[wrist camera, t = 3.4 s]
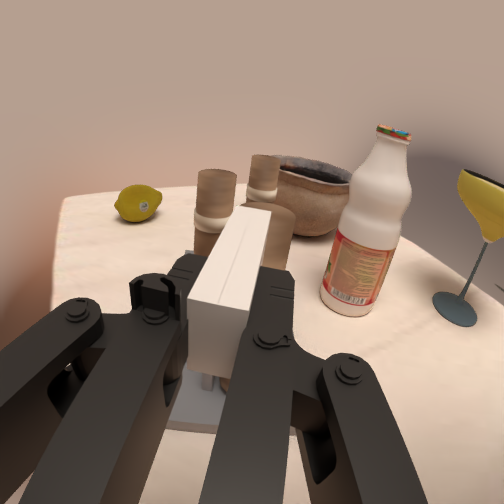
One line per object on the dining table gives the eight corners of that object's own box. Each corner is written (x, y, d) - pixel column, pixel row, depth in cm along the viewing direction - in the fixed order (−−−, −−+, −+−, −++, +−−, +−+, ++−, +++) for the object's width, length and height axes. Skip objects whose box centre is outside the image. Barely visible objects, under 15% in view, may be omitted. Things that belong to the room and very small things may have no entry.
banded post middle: (224, 300, 42) (238, 170, 33) (223, 321, 38) (238, 182, 30) (193, 298, 42) (199, 167, 33) (189, 318, 38) (194, 177, 29)
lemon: (116, 229, 60) (113, 193, 56) (114, 215, 66) (113, 181, 62) (165, 224, 65) (166, 189, 61) (159, 211, 71) (160, 178, 67)
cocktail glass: (399, 287, 54) (442, 162, 42) (450, 279, 60) (488, 176, 48) (459, 350, 40) (529, 208, 27) (502, 327, 45) (556, 215, 33)
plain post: (256, 399, 28) (295, 230, 19) (215, 391, 28) (231, 218, 19) (260, 369, 31) (296, 207, 22) (223, 362, 31) (242, 198, 23)
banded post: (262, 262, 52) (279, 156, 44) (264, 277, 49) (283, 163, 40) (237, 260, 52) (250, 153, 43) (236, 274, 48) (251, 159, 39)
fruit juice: (337, 323, 44) (395, 129, 30) (308, 286, 51) (348, 116, 38) (382, 312, 47) (440, 143, 34) (352, 280, 55) (394, 127, 41)
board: (276, 268, 55) (281, 243, 53) (305, 434, 27) (319, 410, 25) (185, 260, 54) (186, 234, 51) (146, 425, 26) (139, 400, 23)
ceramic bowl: (247, 207, 79) (254, 150, 72) (323, 211, 84) (335, 159, 77) (268, 250, 61) (280, 176, 53) (362, 251, 66) (380, 187, 58)
